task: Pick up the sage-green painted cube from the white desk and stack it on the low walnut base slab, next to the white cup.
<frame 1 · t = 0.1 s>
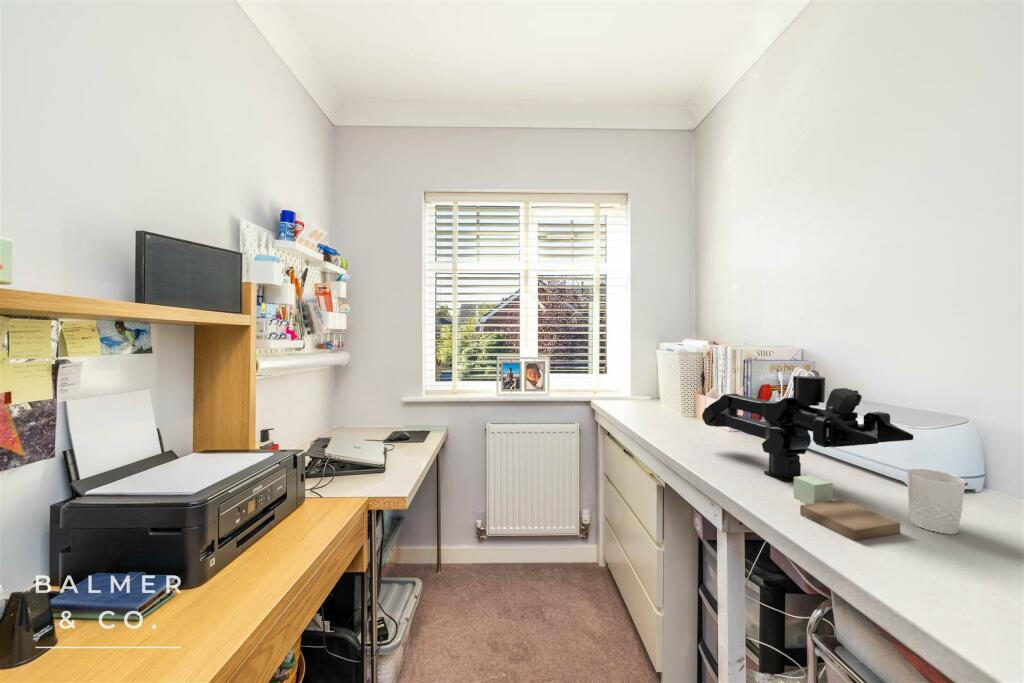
hand: (895, 439, 83), 17 cm above the table, tool horizontal, fingers open, 9 cm apart
base slab: (847, 523, 83), on the table
white cup: (933, 527, 82), on the table
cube: (812, 501, 93), on the table
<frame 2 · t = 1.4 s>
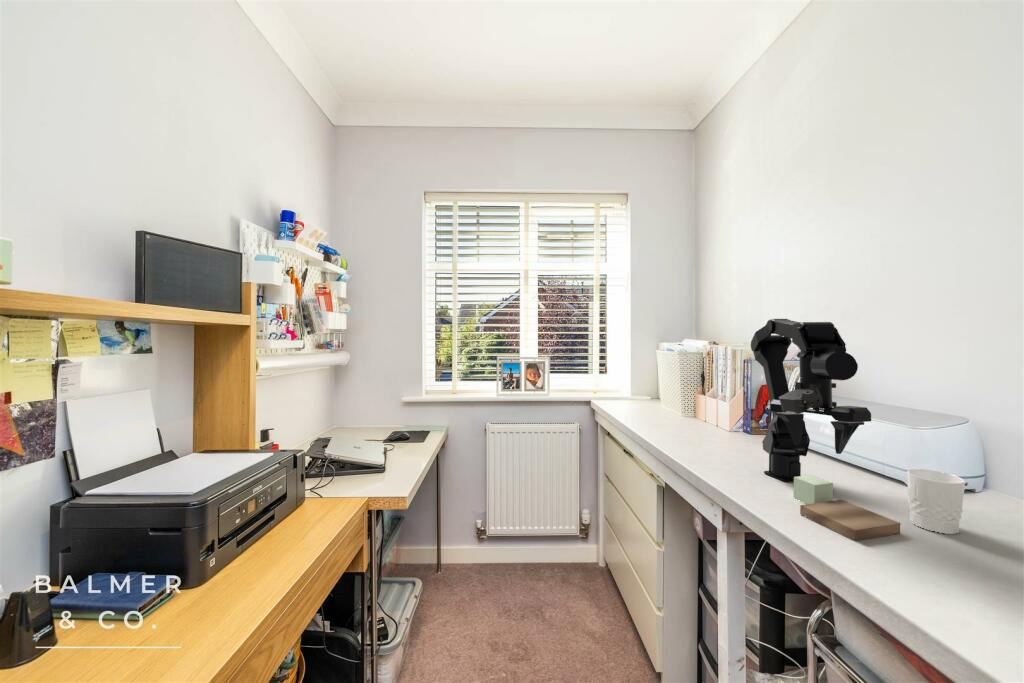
hand: (816, 449, 92), 12 cm above the table, tool pointing down, fingers open, 9 cm apart
nothing on the table moved.
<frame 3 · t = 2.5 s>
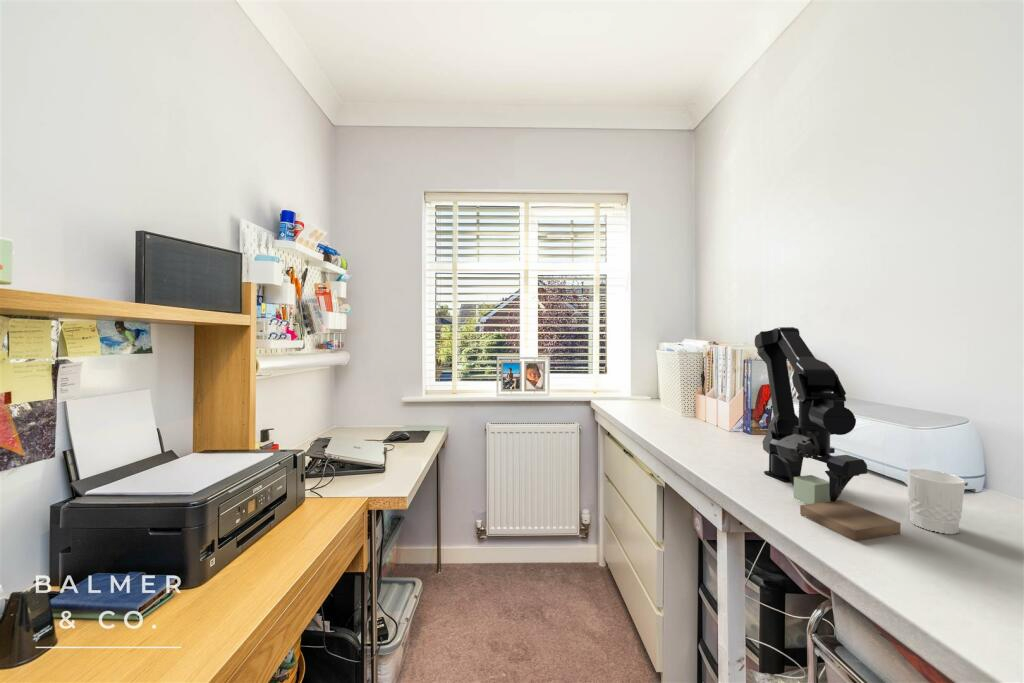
hand: (813, 493, 93), 2 cm above the table, tool pointing down, fingers open, 9 cm apart
nothing on the table moved.
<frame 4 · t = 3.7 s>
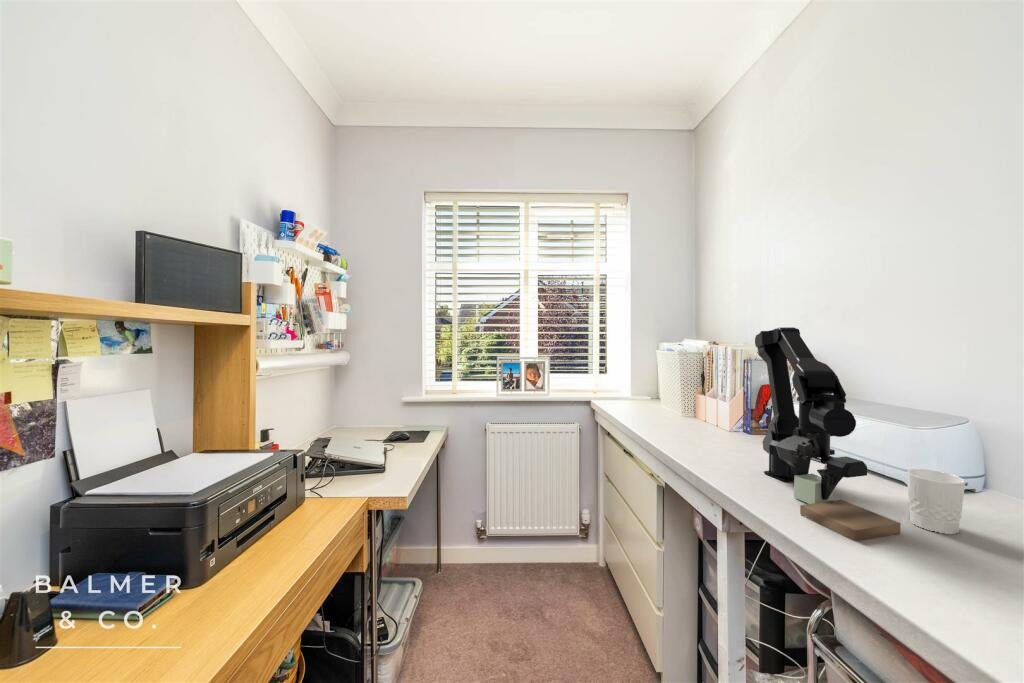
hand: (813, 494, 93), 2 cm above the table, tool pointing down, fingers closed on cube, 5 cm apart
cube: (813, 500, 93), on the table, touching gripper
everything else where it was.
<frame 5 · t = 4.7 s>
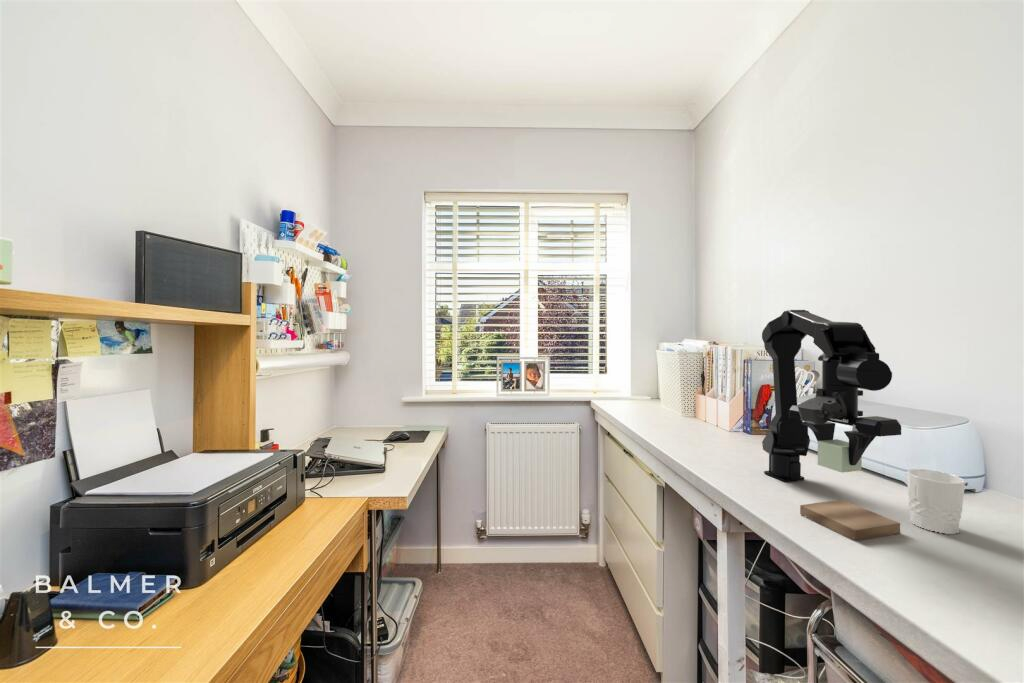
hand: (839, 461, 85), 12 cm above the table, tool pointing down, fingers closed on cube, 5 cm apart
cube: (839, 467, 85), point 10 cm above the table, touching gripper
everything else where it was.
when the fingers open (5 cm above the table, at t = 6.4 s): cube drops 1 cm, resting on base slab.
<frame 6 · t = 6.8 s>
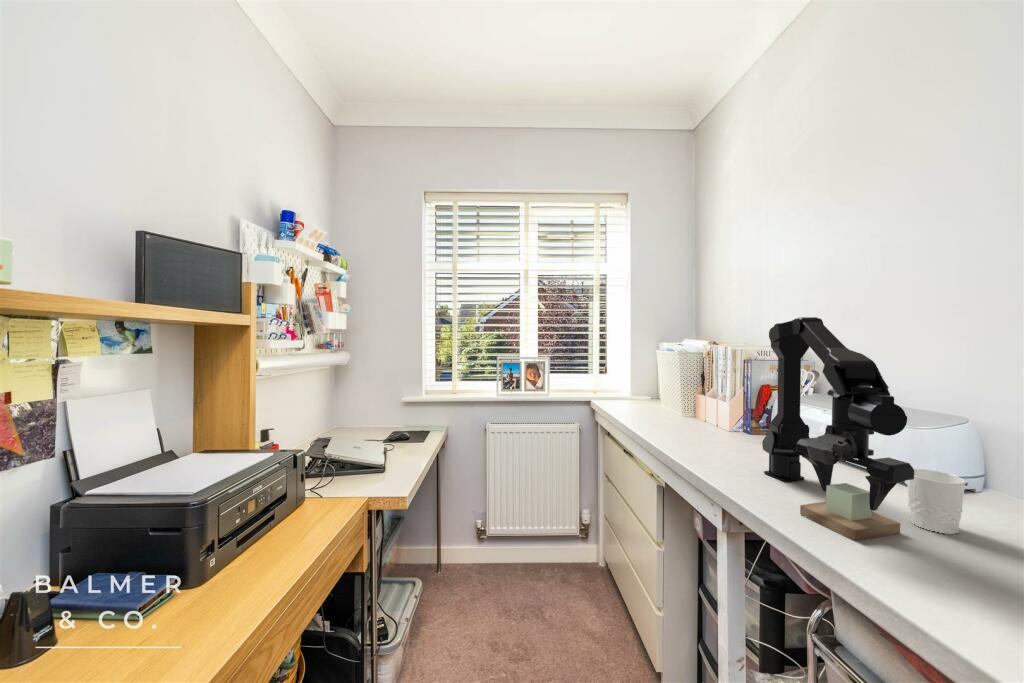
hand: (848, 500, 83), 5 cm above the table, tool pointing down, fingers open, 9 cm apart
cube: (848, 513, 83), point 2 cm above the table, touching base slab
everything else where it was.
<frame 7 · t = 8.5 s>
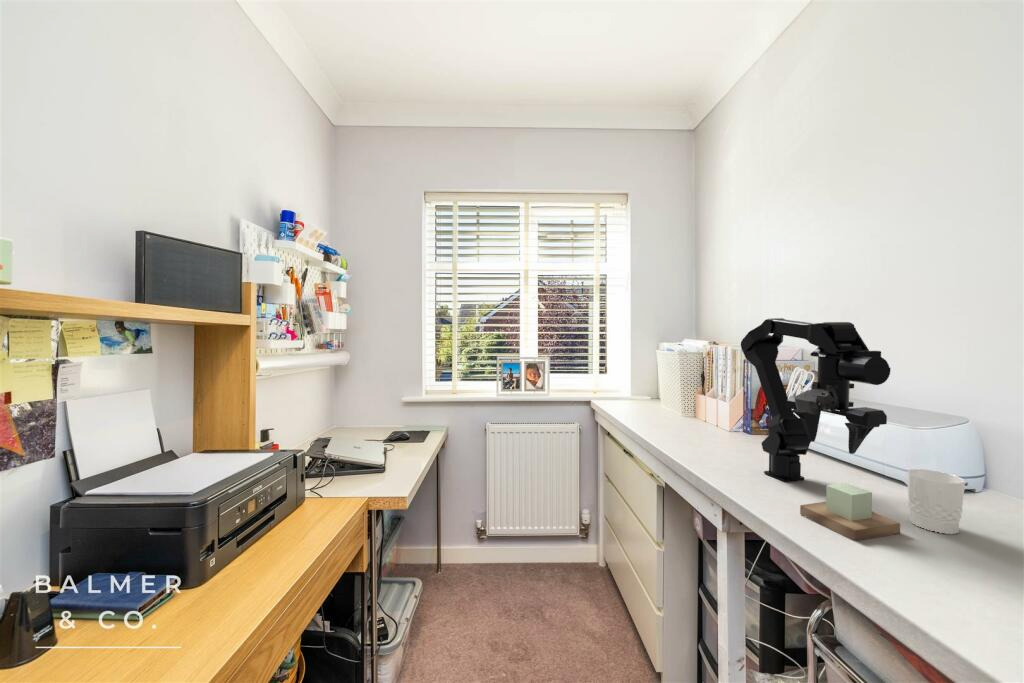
hand: (831, 447, 94), 12 cm above the table, tool pointing down, fingers open, 9 cm apart
nothing on the table moved.
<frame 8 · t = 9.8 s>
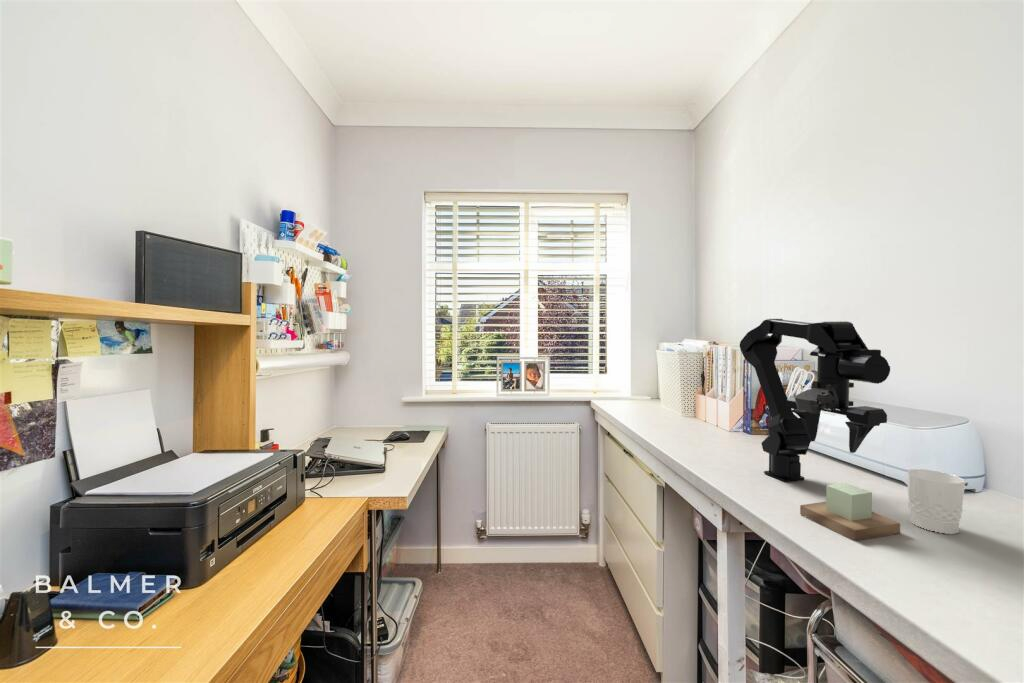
hand: (831, 446, 94), 12 cm above the table, tool pointing down, fingers open, 9 cm apart
nothing on the table moved.
at the end: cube inside the target area on the base slab (0.0 cm from its centre), point 2.0 cm above the base slab's base; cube tilted 0°; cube touching base slab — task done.
